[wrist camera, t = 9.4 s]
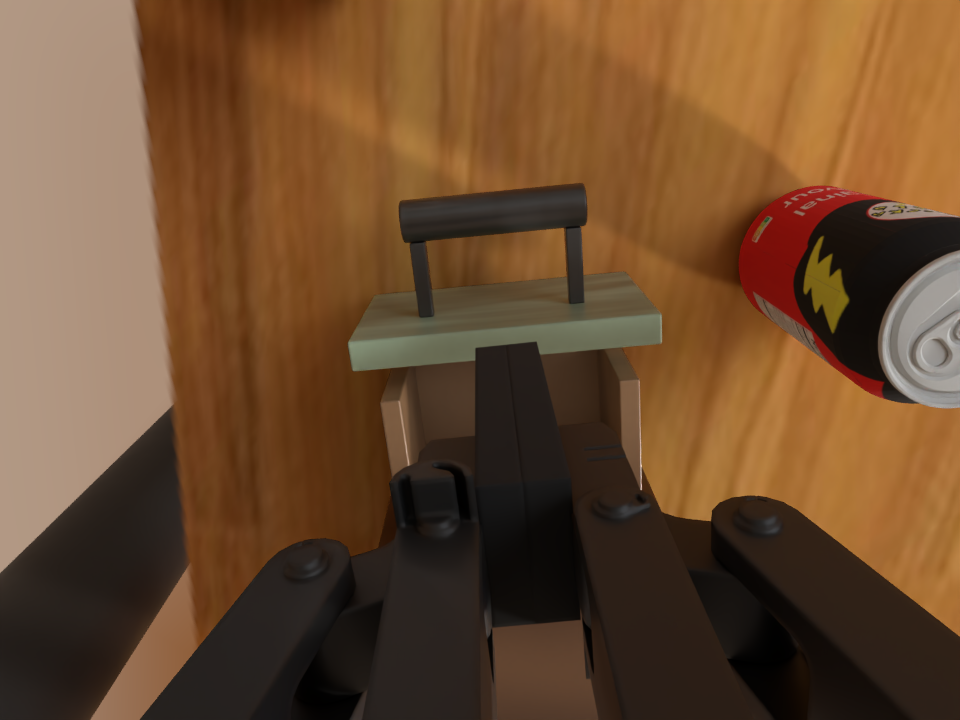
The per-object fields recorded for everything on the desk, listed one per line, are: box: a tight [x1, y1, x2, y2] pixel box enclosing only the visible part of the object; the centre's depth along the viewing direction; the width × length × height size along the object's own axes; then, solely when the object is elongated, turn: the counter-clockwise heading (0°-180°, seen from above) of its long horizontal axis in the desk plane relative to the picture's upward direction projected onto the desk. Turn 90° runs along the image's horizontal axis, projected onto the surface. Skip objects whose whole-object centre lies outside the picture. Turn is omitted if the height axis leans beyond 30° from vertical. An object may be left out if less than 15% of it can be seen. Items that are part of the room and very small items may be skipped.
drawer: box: [348, 183, 662, 490], centre depth 31 cm, size 19×12×7 cm, turn 6°
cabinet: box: [378, 466, 661, 720], centre depth 35 cm, size 16×13×9 cm
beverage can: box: [739, 186, 960, 408], centre depth 27 cm, size 6×6×12 cm
